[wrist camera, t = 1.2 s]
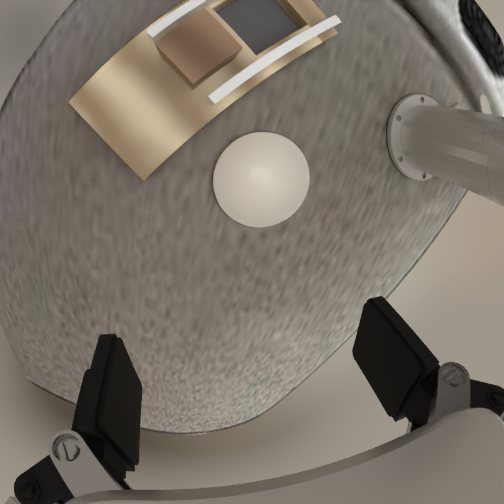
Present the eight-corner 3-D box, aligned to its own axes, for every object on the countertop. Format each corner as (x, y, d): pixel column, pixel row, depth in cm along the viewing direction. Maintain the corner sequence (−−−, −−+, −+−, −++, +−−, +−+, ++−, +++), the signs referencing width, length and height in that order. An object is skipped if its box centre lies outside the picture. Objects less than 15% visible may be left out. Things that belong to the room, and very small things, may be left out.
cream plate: (269, 112, 29) (271, 112, 28) (323, 185, 34) (326, 187, 33) (192, 175, 30) (192, 177, 30) (254, 242, 36) (255, 245, 35)
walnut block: (201, 25, 21) (204, 7, 16) (233, 59, 23) (242, 47, 19) (160, 55, 22) (154, 43, 17) (192, 90, 24) (193, 83, 19)
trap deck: (263, -32, 20) (274, -51, 16) (326, 38, 26) (347, 29, 21) (78, 103, 24) (60, 101, 19) (147, 175, 29) (140, 185, 25)
